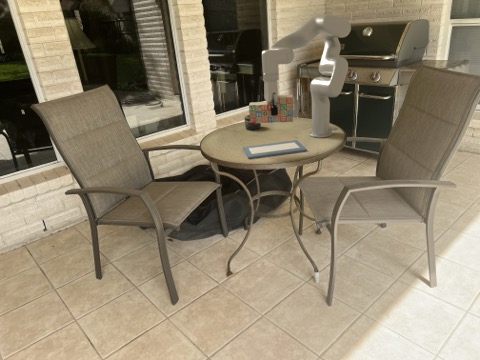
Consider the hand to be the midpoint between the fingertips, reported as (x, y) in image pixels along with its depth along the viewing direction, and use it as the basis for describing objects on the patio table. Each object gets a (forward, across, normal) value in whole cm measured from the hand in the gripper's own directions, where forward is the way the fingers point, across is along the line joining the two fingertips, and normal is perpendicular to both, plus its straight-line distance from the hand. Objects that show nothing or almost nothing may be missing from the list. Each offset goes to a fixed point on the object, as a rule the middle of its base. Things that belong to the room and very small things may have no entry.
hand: (272, 113), depth 183 cm
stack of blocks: (+4, 0, 0) cm, 4 cm away
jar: (+20, -44, -2) cm, 48 cm away
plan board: (+19, 0, 0) cm, 19 cm away
